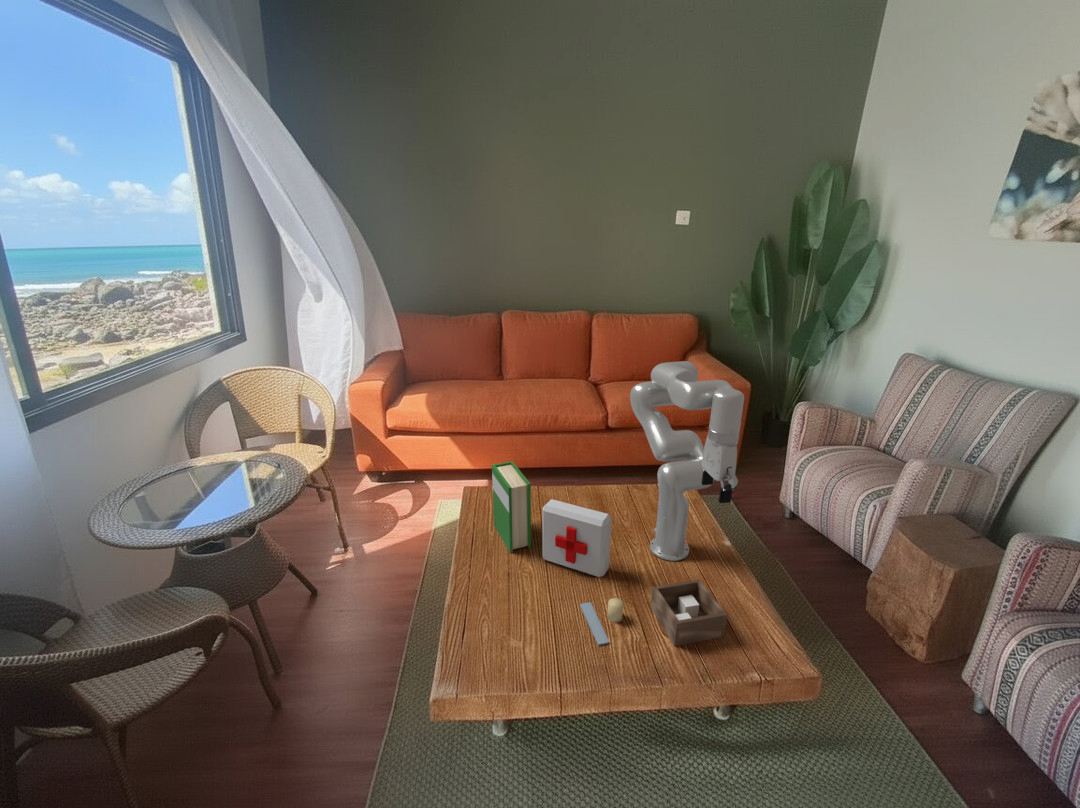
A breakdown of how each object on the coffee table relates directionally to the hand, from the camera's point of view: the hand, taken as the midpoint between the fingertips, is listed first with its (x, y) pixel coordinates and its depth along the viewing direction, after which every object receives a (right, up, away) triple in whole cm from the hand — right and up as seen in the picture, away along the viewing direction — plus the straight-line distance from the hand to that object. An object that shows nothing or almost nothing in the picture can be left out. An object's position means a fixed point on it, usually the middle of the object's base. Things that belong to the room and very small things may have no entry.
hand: (715, 493), depth 140 cm
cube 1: (-7, -33, +1) cm, 34 cm away
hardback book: (-58, -22, +37) cm, 72 cm away
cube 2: (-10, -35, -6) cm, 37 cm away
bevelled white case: (-37, -27, +22) cm, 51 cm away
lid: (-27, -35, 0) cm, 45 cm away
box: (-9, -35, -2) cm, 36 cm away
